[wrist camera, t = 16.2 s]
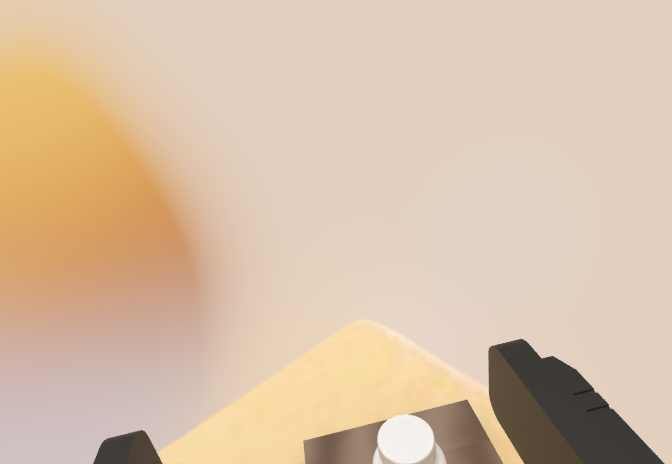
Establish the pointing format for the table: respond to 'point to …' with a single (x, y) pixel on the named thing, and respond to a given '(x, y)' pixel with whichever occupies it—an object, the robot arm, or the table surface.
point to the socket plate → (445, 421)
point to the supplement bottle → (407, 442)
